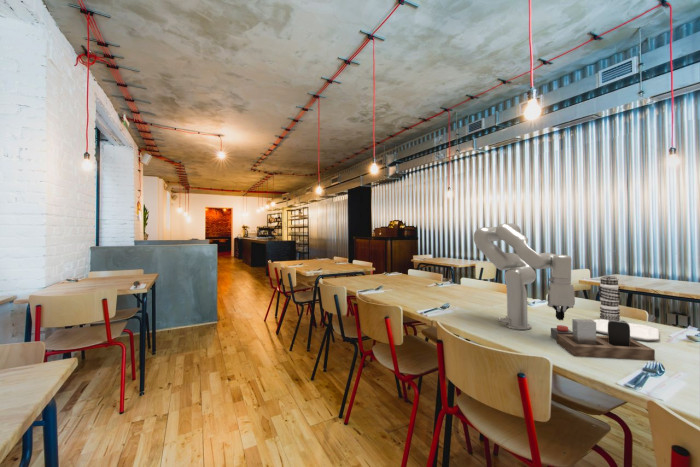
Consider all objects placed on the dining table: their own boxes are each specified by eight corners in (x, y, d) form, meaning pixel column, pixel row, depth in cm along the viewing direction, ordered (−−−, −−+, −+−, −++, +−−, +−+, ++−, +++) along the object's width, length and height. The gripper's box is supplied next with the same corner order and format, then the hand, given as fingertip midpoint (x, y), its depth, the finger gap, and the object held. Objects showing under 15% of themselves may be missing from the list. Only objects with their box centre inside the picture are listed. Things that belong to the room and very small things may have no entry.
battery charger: (629, 348, 126) (628, 320, 126) (630, 351, 123) (630, 323, 123) (607, 344, 130) (606, 318, 130) (608, 347, 127) (607, 320, 127)
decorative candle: (600, 317, 175) (599, 274, 175) (621, 320, 168) (621, 275, 168) (597, 320, 168) (596, 276, 168) (619, 324, 162) (619, 277, 162)
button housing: (558, 341, 139) (557, 332, 139) (550, 336, 146) (550, 327, 146) (575, 342, 138) (574, 333, 138) (567, 336, 145) (566, 328, 145)
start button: (559, 331, 140) (559, 327, 140) (555, 328, 145) (554, 325, 145) (570, 331, 139) (570, 328, 139) (565, 328, 144) (565, 325, 144)
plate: (595, 321, 168) (594, 317, 168) (658, 331, 150) (658, 327, 150) (588, 332, 150) (588, 328, 150) (659, 345, 133) (659, 340, 133)
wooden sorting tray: (574, 356, 123) (573, 325, 123) (556, 342, 138) (556, 315, 138) (654, 360, 118) (654, 328, 118) (627, 345, 132) (626, 317, 132)
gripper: (547, 282, 140) (546, 321, 141) (583, 283, 137) (582, 323, 138) (540, 279, 147) (539, 316, 148) (574, 280, 144) (573, 317, 145)
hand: (559, 319), depth 143 cm, fingers closed
